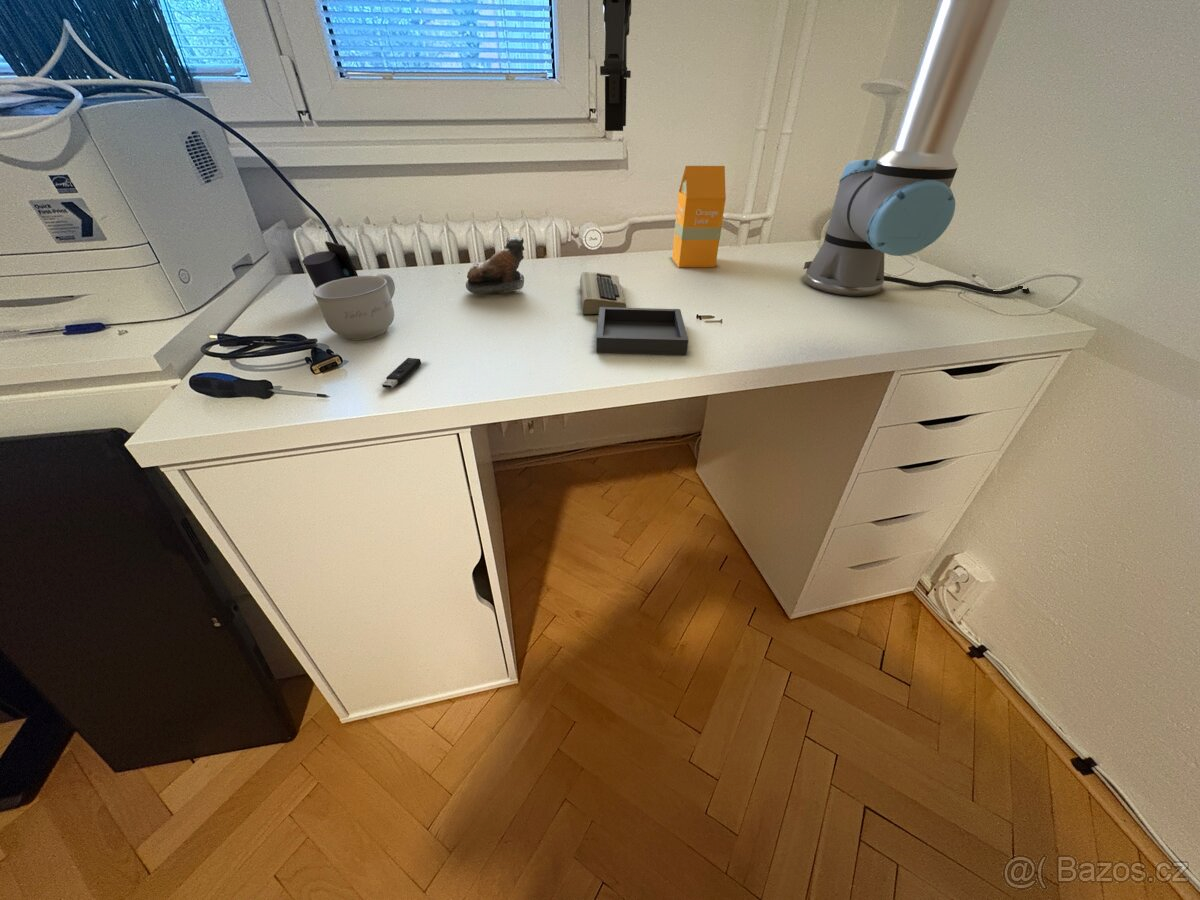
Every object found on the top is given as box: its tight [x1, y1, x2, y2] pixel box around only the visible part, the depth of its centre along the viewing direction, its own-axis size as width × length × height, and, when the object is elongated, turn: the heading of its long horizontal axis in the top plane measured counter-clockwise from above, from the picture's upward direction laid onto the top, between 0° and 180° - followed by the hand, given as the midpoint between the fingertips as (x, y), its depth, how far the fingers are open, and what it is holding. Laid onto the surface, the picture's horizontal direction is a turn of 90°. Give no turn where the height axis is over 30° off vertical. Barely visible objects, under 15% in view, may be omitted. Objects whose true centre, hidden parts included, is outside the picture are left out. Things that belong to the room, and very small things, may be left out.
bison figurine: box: [465, 236, 525, 295], centre depth 93 cm, size 12×7×10 cm, turn 103°
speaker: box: [301, 240, 359, 289], centre depth 88 cm, size 8×6×10 cm
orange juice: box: [671, 165, 727, 268], centre depth 109 cm, size 8×9×20 cm
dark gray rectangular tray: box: [595, 307, 689, 356], centre depth 79 cm, size 14×13×2 cm
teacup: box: [312, 273, 396, 341], centre depth 78 cm, size 14×11×8 cm
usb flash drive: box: [381, 357, 422, 389], centre depth 67 cm, size 8×2×1 cm, turn 170°
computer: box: [579, 271, 627, 315], centre depth 93 cm, size 16×8×3 cm, turn 3°
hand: (616, 128), depth 77 cm, fingers open, 13 cm apart
